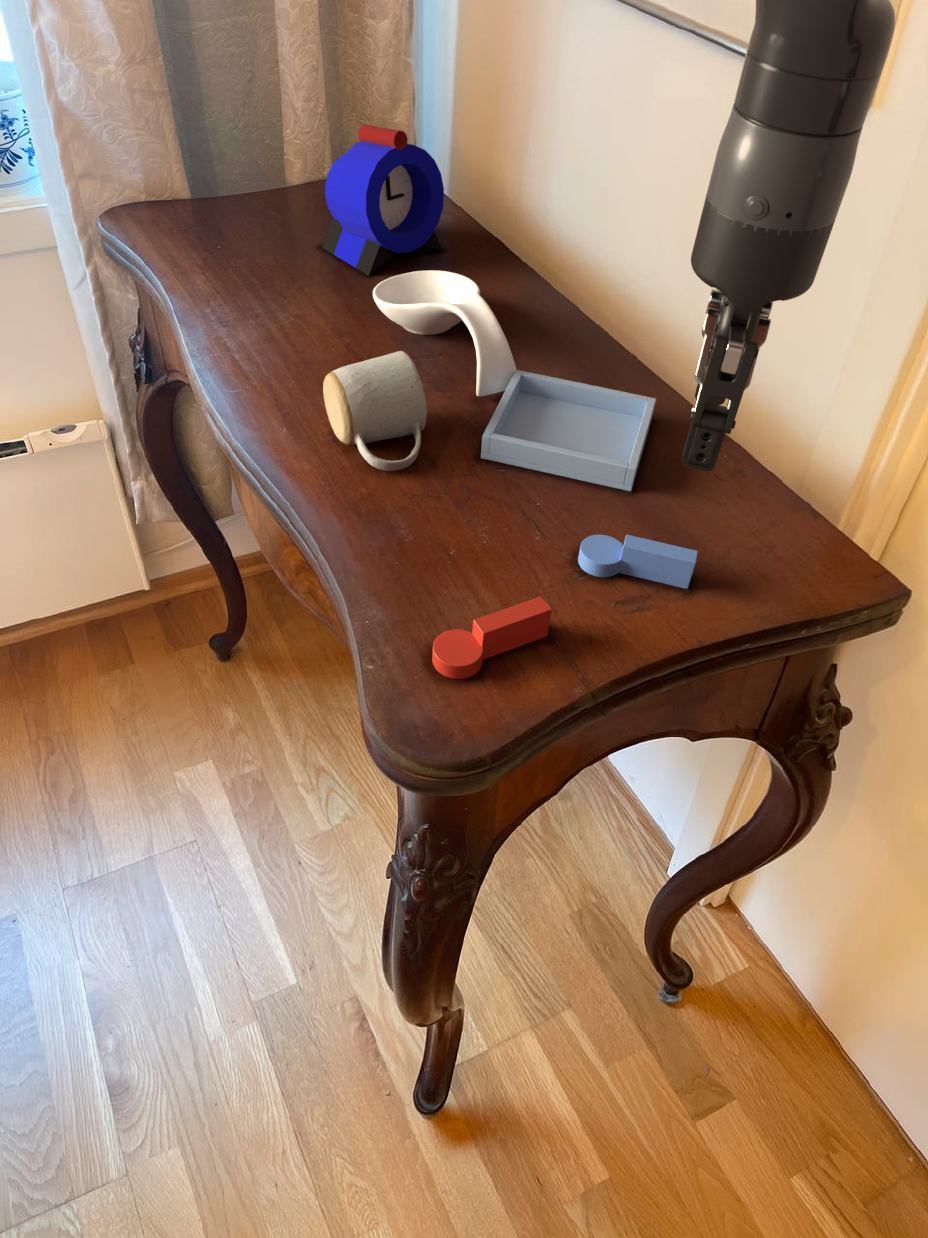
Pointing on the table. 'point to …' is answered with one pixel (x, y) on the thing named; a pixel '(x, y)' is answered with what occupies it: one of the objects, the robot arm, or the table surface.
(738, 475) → the table surface
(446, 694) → the table surface
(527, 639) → the red disc with bar
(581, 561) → the blue spoon
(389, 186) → the alarm clock
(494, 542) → the table surface
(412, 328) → the spoon rest
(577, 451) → the blue tray
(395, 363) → the ceramic mug
